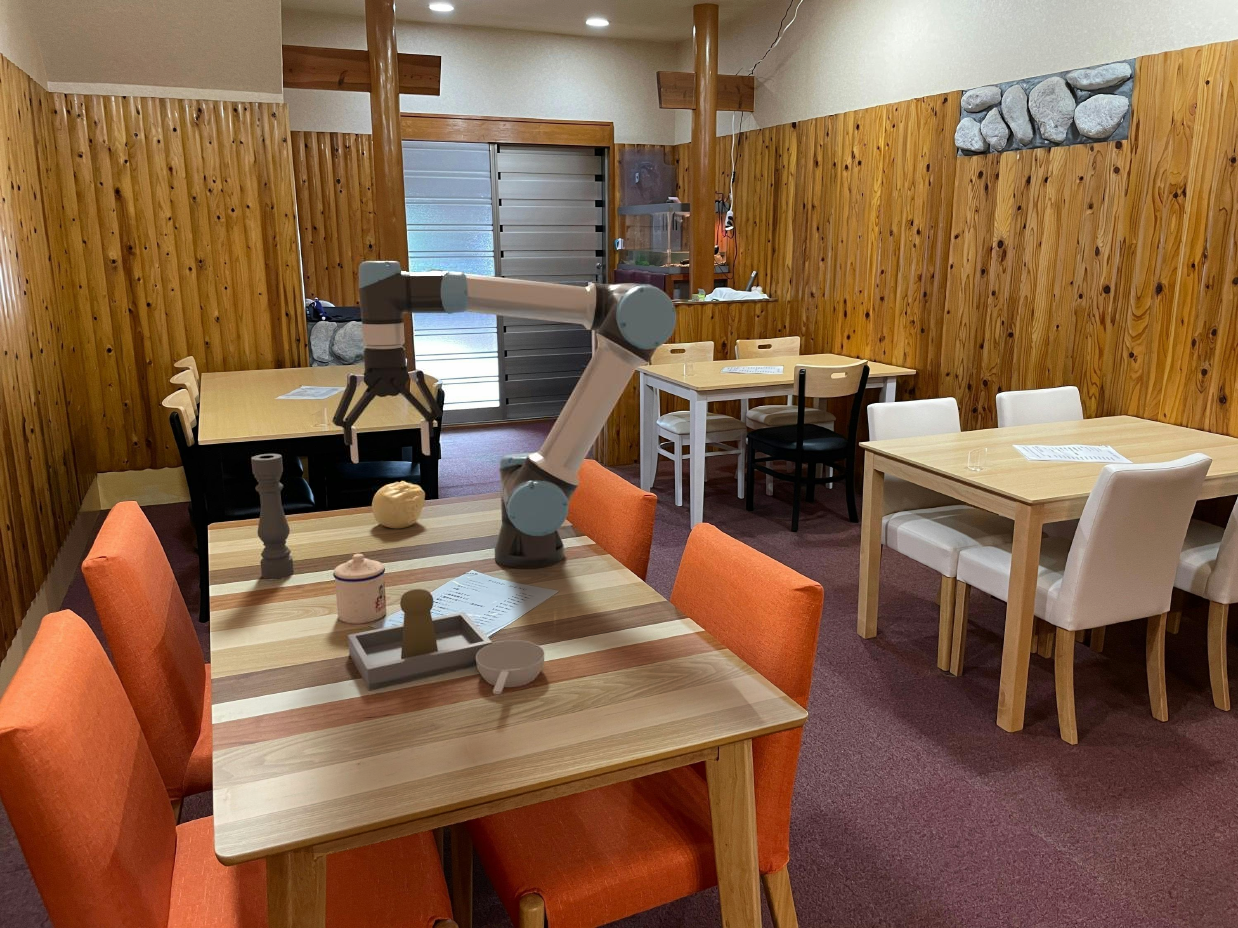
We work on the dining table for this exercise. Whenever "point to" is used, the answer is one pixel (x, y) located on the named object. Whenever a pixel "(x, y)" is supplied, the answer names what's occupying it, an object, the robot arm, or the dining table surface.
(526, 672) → the saucepan
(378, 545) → the dining table surface
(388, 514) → the pale yellow lumpy ball
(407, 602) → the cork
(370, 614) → the teacup with lid
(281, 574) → the candle holder
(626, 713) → the dining table surface
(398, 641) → the tray
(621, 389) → the robot arm
